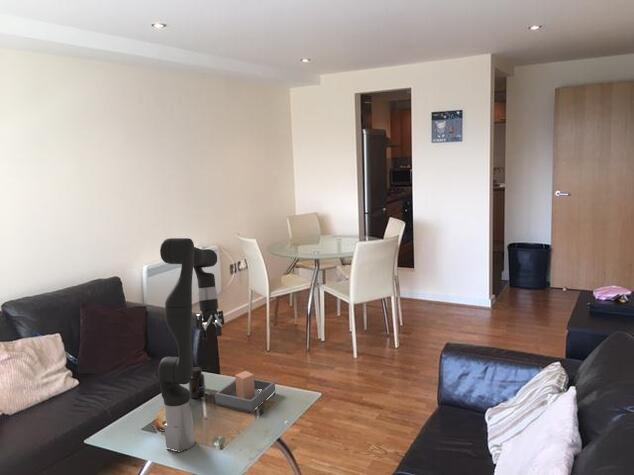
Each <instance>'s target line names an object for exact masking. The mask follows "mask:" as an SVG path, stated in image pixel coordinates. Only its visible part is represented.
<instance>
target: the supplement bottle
mask: <svg viewBox="0 0 634 475" xmlns="http://www.w3.org/2000/svg"><path fill="white" fill-rule="evenodd" d="M205 381H206V380H205V375H204V373H203V372H202V368H201V367H199V366H195V367H194V366H193V372H192V377H191V380H190V382H189V383H188V390H189V392H190V398H192V399H199V398H203V397H205V395H206V382H205Z"/></svg>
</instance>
